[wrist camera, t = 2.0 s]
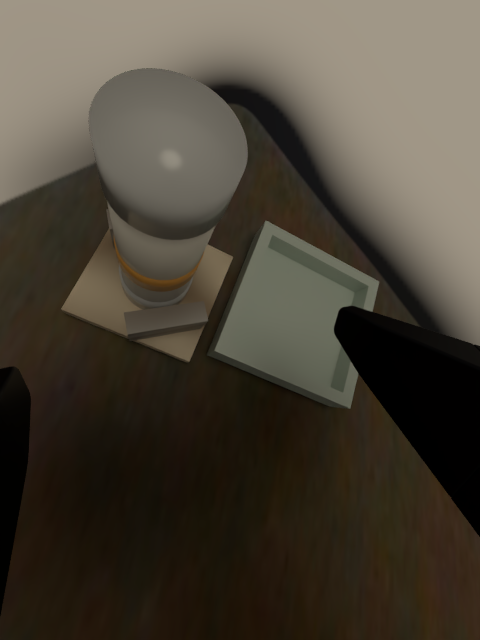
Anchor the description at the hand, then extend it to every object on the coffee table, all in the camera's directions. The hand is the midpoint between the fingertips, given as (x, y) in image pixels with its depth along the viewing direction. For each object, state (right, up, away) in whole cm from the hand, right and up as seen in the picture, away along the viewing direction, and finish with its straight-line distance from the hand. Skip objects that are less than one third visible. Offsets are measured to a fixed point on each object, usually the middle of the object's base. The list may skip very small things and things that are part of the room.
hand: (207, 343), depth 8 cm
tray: (+5, +1, +14) cm, 15 cm away
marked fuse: (-4, +3, +11) cm, 12 cm away
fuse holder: (-5, +3, +12) cm, 13 cm away
